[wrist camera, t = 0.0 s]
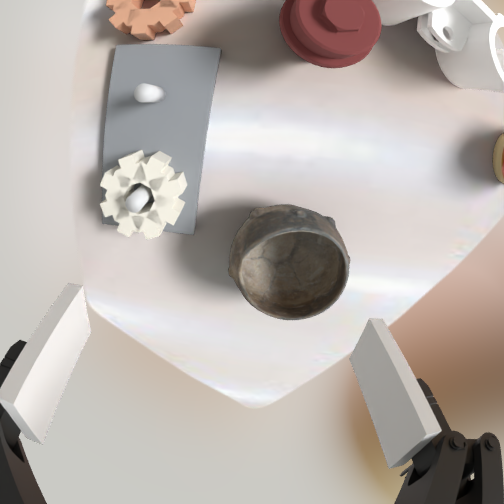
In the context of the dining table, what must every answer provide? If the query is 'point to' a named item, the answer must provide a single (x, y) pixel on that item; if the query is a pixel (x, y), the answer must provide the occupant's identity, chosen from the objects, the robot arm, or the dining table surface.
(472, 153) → the dining table surface
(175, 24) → the gear
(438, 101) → the dining table surface
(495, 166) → the cake
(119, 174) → the gear
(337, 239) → the bowl
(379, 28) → the mechanical component
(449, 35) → the white joined open cylinders
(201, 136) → the gear board
